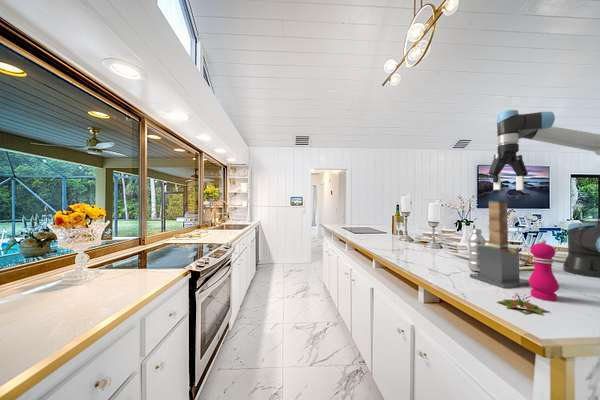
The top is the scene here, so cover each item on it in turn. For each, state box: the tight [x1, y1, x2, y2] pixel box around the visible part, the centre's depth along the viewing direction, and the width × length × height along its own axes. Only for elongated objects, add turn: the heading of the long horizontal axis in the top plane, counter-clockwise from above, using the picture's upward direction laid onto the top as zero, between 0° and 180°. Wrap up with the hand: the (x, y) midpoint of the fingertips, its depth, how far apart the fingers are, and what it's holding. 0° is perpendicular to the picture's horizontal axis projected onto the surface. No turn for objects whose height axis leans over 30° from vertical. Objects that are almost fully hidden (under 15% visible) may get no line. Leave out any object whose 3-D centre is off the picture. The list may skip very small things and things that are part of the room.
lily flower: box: [498, 292, 550, 316], centre depth 74 cm, size 12×12×5 cm
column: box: [488, 200, 509, 249], centre depth 99 cm, size 4×4×25 cm
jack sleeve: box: [469, 245, 531, 289], centre depth 99 cm, size 14×14×14 cm
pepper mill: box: [528, 238, 560, 302], centre depth 82 cm, size 7×7×20 cm
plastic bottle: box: [467, 228, 486, 273], centre depth 114 cm, size 6×7×20 cm
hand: (508, 189), depth 111 cm, fingers open, 13 cm apart
